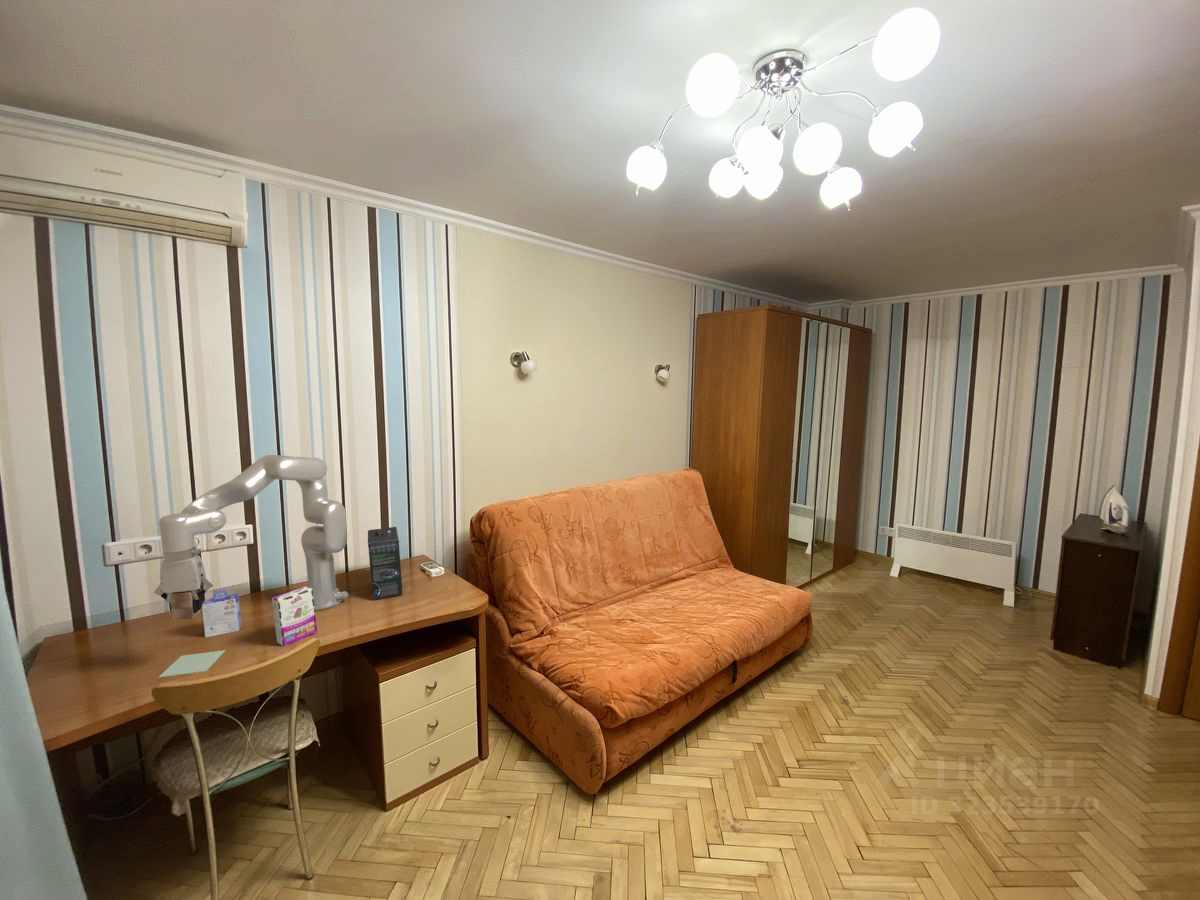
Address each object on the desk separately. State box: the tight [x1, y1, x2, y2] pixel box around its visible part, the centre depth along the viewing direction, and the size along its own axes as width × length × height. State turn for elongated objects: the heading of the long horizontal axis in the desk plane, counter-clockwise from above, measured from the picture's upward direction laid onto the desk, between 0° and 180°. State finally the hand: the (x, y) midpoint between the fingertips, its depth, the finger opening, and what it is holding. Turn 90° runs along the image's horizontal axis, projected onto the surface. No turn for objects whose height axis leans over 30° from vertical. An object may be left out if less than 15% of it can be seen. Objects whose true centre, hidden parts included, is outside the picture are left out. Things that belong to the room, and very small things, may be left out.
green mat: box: [158, 650, 226, 678], centre depth 151 cm, size 12×12×1 cm
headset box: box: [367, 526, 403, 601], centre depth 206 cm, size 22×12×26 cm, turn 25°
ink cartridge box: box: [201, 589, 242, 638], centre depth 171 cm, size 10×6×14 cm, turn 120°
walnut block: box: [170, 591, 202, 621], centre depth 149 cm, size 5×5×8 cm
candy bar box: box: [271, 585, 318, 647], centre depth 166 cm, size 11×5×16 cm, turn 148°
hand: (186, 611), depth 149 cm, fingers closed on walnut block, 5 cm apart
